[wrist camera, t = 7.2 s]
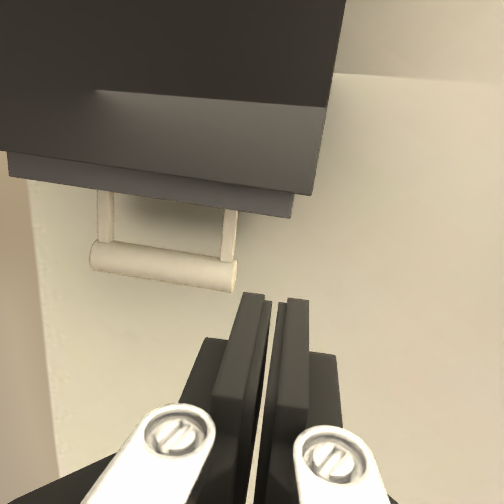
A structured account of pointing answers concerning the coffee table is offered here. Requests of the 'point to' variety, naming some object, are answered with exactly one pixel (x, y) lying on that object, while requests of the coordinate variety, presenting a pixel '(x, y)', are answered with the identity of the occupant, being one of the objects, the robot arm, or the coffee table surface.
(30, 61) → the drawer box
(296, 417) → the robot arm
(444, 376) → the coffee table surface
